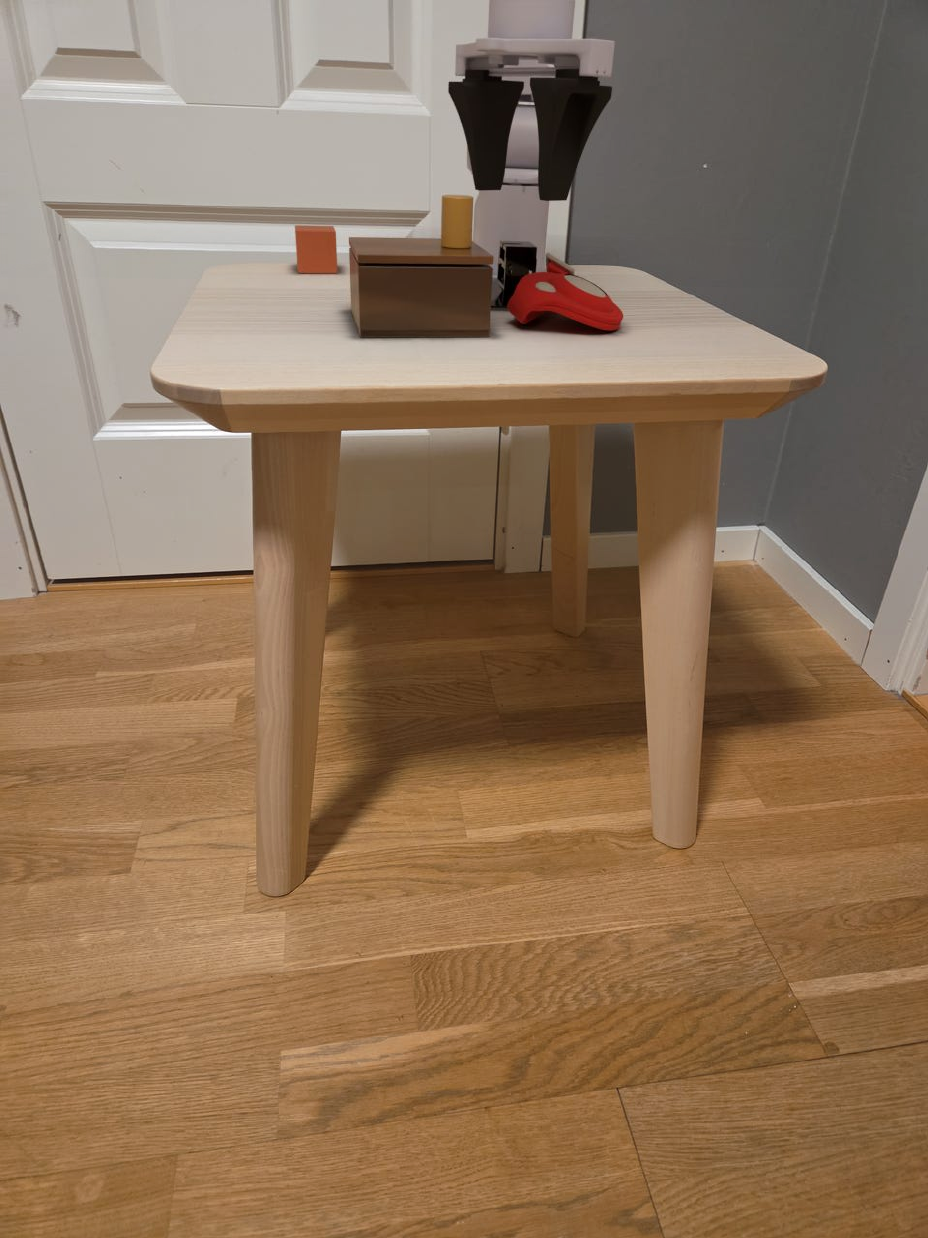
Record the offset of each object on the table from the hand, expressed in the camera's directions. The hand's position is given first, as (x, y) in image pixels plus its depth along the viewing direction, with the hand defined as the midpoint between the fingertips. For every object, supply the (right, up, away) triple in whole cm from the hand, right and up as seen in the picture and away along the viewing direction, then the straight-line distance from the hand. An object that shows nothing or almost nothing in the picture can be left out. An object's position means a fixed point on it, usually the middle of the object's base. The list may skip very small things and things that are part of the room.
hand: (519, 194), depth 60 cm
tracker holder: (+5, -6, +9) cm, 12 cm away
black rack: (+1, -1, +18) cm, 18 cm away
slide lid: (-8, -3, +3) cm, 9 cm away
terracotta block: (-20, +5, +25) cm, 32 cm away
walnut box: (-8, -7, +6) cm, 12 cm away
